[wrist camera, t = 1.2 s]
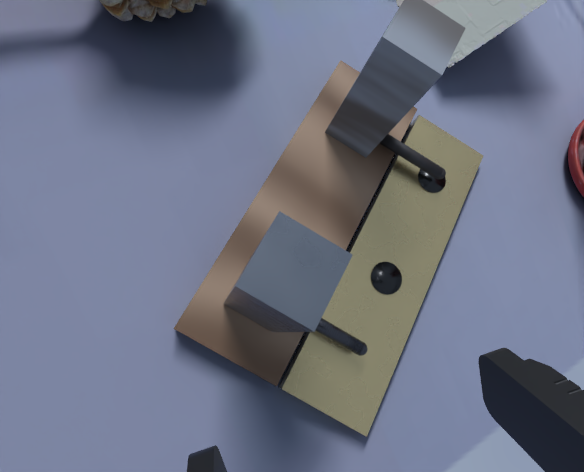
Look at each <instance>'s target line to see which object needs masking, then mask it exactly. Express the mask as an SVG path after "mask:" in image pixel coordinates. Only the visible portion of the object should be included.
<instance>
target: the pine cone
mask: <svg viewBox="0 0 584 472" xmlns="http://www.w3.org/2000/svg"><path fill="white" fill-rule="evenodd" d="M100 2H101V3H102V5H103V6H104V7H105V8H106V9H107V10H108V11H109V12H110V13H111V14H112V15H113V16H115V17H116V18H118V19H120V20H122V21H128V20H132V18H133V15H137V16H138V17H139V18H140V19H142V20H146V21H150V22H152V21H153V19H154V18H155V16H156V12H157V13H158V14H159V15H160V16H163V17H167V18H171V17H172V16H173V15H174V14H175V11H176V9H177V10H179V11H181V12H183V13H186V12H192V11H193V8H194V6H195V4H198V5H206V3H207V0H100Z"/></svg>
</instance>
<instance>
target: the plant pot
mask: <svg viewBox="0 0 584 472" xmlns="http://www.w3.org/2000/svg"><path fill="white" fill-rule="evenodd" d="M568 163H569V169H570V172H571V176H572V178H573V181H574V183H575V185H576V187H577V188H578V190H579V192H580V193H581V195H582V196H583V197H584V120H583V121H582V122H581V123H580V124H579V125H578V127H577V128H576V129H575V131H574V133H573V135H572V137H571V140H570V144H569V148H568Z"/></svg>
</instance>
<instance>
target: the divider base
mask: <svg viewBox="0 0 584 472" xmlns="http://www.w3.org/2000/svg"><path fill="white" fill-rule="evenodd" d="M465 29H466V28H465V27H463V26H462V25H460V24H459V23H457V22H456V21H454V20H453V19H451V18H450V17H448V16H447V15H445V14H444V13H442V12H441V11H439V10H438V9H436V8H434V7H433V6H431V5H430V4H428V3H427V2H425V1H424V0H404V1H403V2H402V4H401V6H400V7H399V9H398V11H397V12H396V14H395V16H394V17H393V19H392V21H391V22H390V24H389V26H388V27H387V29H386V31H385V32H384V34H383V36H382V37H381V39H380V41H379V42H378V44H377V46H376V47H375V49H374V51H373V52H372V54H371V56H370V57H369V59H368V61H367V62H366V64H365V66H364V67H363V69H362V71H361V72H358V71H357V70H355V69H353V68H352V67H350V66H349V65H347V64H346V63H344V62H342V61H340V62H339V64H338V65H337V67H336V69H335V70H334V72H333V73H332V75H331V77H330V78H329V80H328V81H327V83H326V85H325V86H324V88H323V89H322V91H321V93H320V94H319V96H318V98H317V99H316V101H315V102H314V104H313V106H312V107H311V109H310V110H309V112H308V114H307V115H306V117H305V118H304V120H303V122H302V123H301V125H300V126H299V128H298V130H297V131H296V133H295V134H294V136H293V138H292V139H291V141H290V143H289V144H288V146H287V147H286V149H285V151H284V152H283V154H282V155H281V157H280V159H279V160H278V162H277V163H276V165H275V167H274V168H273V170H272V171H271V173H270V175H269V176H268V178H267V179H266V181H265V183H264V184H263V186H262V188H261V189H260V191H259V192H258V194H257V196H256V197H255V199H254V200H253V202H252V204H251V205H250V207H249V208H248V210H247V212H246V213H245V215H244V216H243V218H242V220H241V221H240V223H239V225H238V226H237V228H236V229H235V231H234V233H233V234H232V236H231V237H230V239H229V241H228V242H227V244H226V245H225V247H224V249H223V250H222V252H221V253H220V255H219V257H218V258H217V260H216V261H215V263H214V265H213V266H212V268H211V270H210V271H209V273H208V274H207V276H206V278H205V279H204V281H203V282H202V284H201V286H200V287H199V289H198V290H197V292H196V294H195V295H194V297H193V298H192V300H191V302H190V303H189V305H188V306H187V308H186V310H185V311H184V313H183V315H182V316H181V318H180V319H179V321H178V323H177V324H176V326H175V327H174V329H175V330H177V331H179V332H181V333H182V334H184V335H186V336H188V337H190V338H191V339H193V340H195V341H197V342H198V343H200V344H202V345H204V346H206V347H207V348H209V349H211V350H213V351H214V352H216V353H218V354H220V355H222V356H223V357H225V358H227V359H229V360H230V361H232V362H234V363H236V364H238V365H239V366H241V367H243V368H245V369H246V370H248V371H250V372H252V373H254V374H255V375H257V376H259V377H261V378H262V379H264V380H266V381H268V382H270V383H271V384H273V385H275V386H277V385H278V383H279V381H280V379H281V377H282V375H283V373H284V371H285V369H286V367H287V365H288V363H289V361H290V359H291V357H292V355H293V353H294V351H295V349H296V347H297V345H298V343H299V341H300V339H301V337H302V336H303V334H304V332H271V331H270V330H268V329H266V328H264V327H263V326H261V325H259V324H257V323H256V322H254V321H252V320H250V319H249V318H247V317H245V316H243V315H242V314H240V313H238V312H236V311H235V310H233V309H231V308H229V307H228V306H226V305H224V304H223V303H224V302H225V300H226V298H227V297H228V295H229V293H230V292H231V290H232V288H233V286H234V285H235V283H236V281H237V280H238V278H239V276H240V275H241V273H242V271H243V270H244V268H245V266H246V265H247V263H248V261H249V259H250V258H251V256H252V254H253V253H254V251H255V250H256V248H257V246H258V245H259V243H260V242H261V240H262V238H263V237H264V235H265V234H266V232H267V230H268V229H269V227H270V225H271V224H272V222H273V221H274V219H275V217H276V216H277V214H278V213H279V211H280V212H282V213H284V214H285V215H287V216H289V217H290V218H292V219H294V220H295V221H297V222H299V223H301V224H302V225H304V226H306V227H307V228H309V229H311V230H312V231H314V232H316V233H317V234H319V235H321V236H322V237H324V238H326V239H327V240H329V241H331V242H332V243H334V244H336V245H337V246H339V247H341V248H342V249H344V250H346V249H347V247H348V245H349V243H350V241H351V239H352V237H353V235H354V233H355V231H356V229H357V227H358V225H359V223H360V221H361V219H362V217H363V215H364V213H365V211H366V209H367V207H368V205H369V203H370V201H371V199H372V197H373V195H374V193H375V191H376V189H377V188H378V186H379V184H380V182H381V180H382V178H383V176H384V174H385V172H386V170H387V168H388V166H389V164H390V162H391V160H392V158H393V156H394V154H395V153H396V154H397V155H399V156H401V157H402V158H404V159H405V160H407V161H409V162H410V163H412V164H413V165H415V166H417V167H418V168H420V169H421V170H423V171H425V172H426V173H428V174H429V175H431V176H433V177H434V178H436V179H443V178H444V177H445V175H446V171H445V169H444V168H442V167H440V166H439V165H437V164H436V163H434V162H432V161H431V160H429V159H428V158H426V157H424V156H423V155H421V154H420V153H418V152H417V151H415V150H413V149H412V148H410V147H409V146H407V145H405V144H404V143H402V142H401V140H402V138H403V136H404V134H405V132H406V130H407V128H408V126H409V124H410V122H411V120H412V118H413V116H414V114H415V113H416V111H417V109H416V108H415V107H413V106H414V105H415V104H416V103H417V102H418V101H419V100H420V99H421V98H422V97H423V95H424V94H425V93H426V92H427V91H428V90H429V89H430V88H431V87H432V86H433V85H434V84H435V83H436V81H437V80H438V79H439V78H440V77H441V76H442V75H443V73H444V71H445V69H446V67H447V65H448V63H449V61H450V59H451V57H452V55H453V53H454V51H455V49H456V47H457V45H458V43H459V41H460V39H461V37H462V35H463V33H464V31H465Z"/></svg>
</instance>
